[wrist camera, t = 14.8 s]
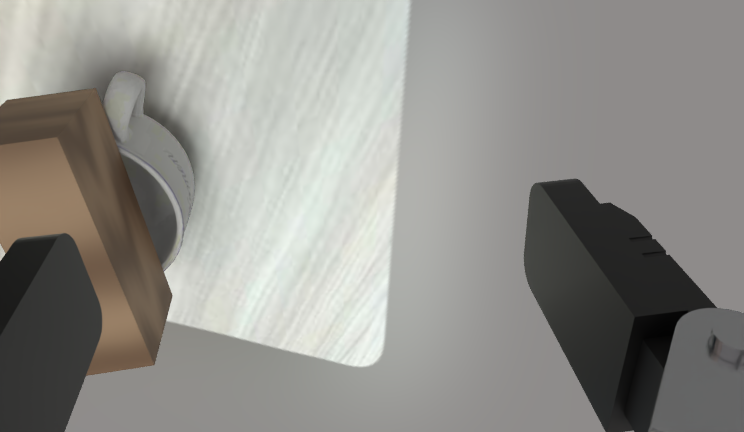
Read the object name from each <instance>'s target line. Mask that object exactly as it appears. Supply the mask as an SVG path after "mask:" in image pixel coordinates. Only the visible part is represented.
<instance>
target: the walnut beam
mask: <svg viewBox="0 0 744 432" xmlns="http://www.w3.org/2000/svg"><path fill="white" fill-rule="evenodd" d="M61 233H67V234H69V235H70V236H71V237H72V238H73V239H74V241H75V243H76V245H77V247H78V250H79V252H80V255H81V257H82V260H83V262H84V265H85V267H86V270H87V272H88V275H89V277H90V280H91V282H92V285H93V287H94V290H95V292H96V295H97V297H98V300H99V303H100V306H101V311H102V332H101V337H100V340H99V343H98V345H97V348H96V350H95V353H94V356H93V358H92V361H91V364H90V366H89V369H88V371H87V374H86V376H87V375H94V374H100V373H107V372H113V371H119V370H126V369H133V368H139V367H145V366H152V365H154V364H155V361H156V357H157V352H158V349H159V345H160V342H161V338H162V334H163V330H164V326H165V322H166V319H167V315H168V311H169V307H170V303H171V299H172V293H171V290H170V288H169V285H168V282H167V280H166V277H165V274H164V271H163V269H162V266H161V263H160V261H159V258H158V255H157V252H156V250H155V247H154V244H153V242H152V239H151V236H150V234H149V231H148V228H147V225H146V223H145V220H144V217H143V215H142V212H141V209H140V206H139V204H138V201H137V198H136V196H135V193H134V190H133V187H132V185H131V182H130V179H129V177H128V174H127V171H126V168H125V166H124V163H123V160H122V158H121V155H120V152H119V149H118V147H117V144H116V141H115V139H114V136H113V133H112V130H111V128H110V125H109V122H108V120H107V117H106V114H105V111H104V109H103V106H102V103H101V101H100V98H99V95H98V92H97V90H96V88H93V89H85V90H78V91H70V92H63V93H56V94H48V95H41V96H34V97H26V98H19V99H12V100H7V101H6V102H5V103H3V104H2V105H1V106H0V244H1V246H2V247H3V249H4V251H5V253H7V251H8V250H9V248H10V247H11V245H12V244H13V243H14V241H15V240H17V239H19V238H24V237H33V236H42V235H52V234H61Z"/></svg>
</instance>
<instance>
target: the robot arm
mask: <svg viewBox="0 0 744 432" xmlns="http://www.w3.org/2000/svg"><path fill="white" fill-rule="evenodd" d="M525 239H526V240H525V249H524V266H525V273H526V277H527V281H528V284H529V286H530V289H531V291H532V293H533V294H534V296H535V298H536V300H537V302H538V304H539V306H540V308H541V310H542V311H543V314H544V315H545V317H546V319H547V321H548V323H549V325H550V327H551V329H552V331H553V332H554V334H555V336H556V338H557V340H558V342H559V344H560V346H561V348H562V350H563V352H564V353H565V355H566V357H567V359H568V361H569V363H570V365H571V367H572V369H573V371H574V372H575V374H576V376H577V378H578V380H579V382H580V384H581V386H582V388H583V390H584V391H585V393H586V395H587V397H588V399H589V401H590V403H591V405H592V407H593V409H594V411H595V412H596V414H597V416H598V418H599V420H600V422H601V424H602V426H603V427H604V429H605V431H606V432H625V431H632V430H634V432H744V313H741V312H738V311H734V310H729V309H721V308H717V307H716V306H715V305H714V304H713V303H712V302H711V301H710V300H709V298H708V297H707V296H706V295H705V294H704V293H703V292H702V291H701V289H700V288H699V287H698V286H697V285H696V284H695V283H694V282H693V281H692V279H691V278H689V276H688V275H687V274H686V273H685V272H684V271H683V269H682V268H681V267H680V266H679V265H678V264H677V263H676V262H675V261H674V260H673V258H672V257H671V256H670V255H666V251H665V250H664V248H663V247H662V246H661V245H660V244H659V243H658V242H657V241H656V239H652V235H651V234H650V233H649V232H648V231H647V229H646V228H645V227H644V226H643V225H642V224H641V223H640V222H639V221H638V219H636V218H635V217H634V216H632V215H631V214H629V213H627V212H625V211H624V210H622V209H620V208H618V207H617V206H615V205H613V204H611V203H603V204H600V203H599V202H598V201H597V200H596V199H595V197H594V196H593V195H592V194H591V193H590V192H589V190H588V189H587V188H586V187H585V186H584V184H583V183H582V182H581V181H580V180H578V179H568V180H559V181H550V182H541V183H535V184H534V185H533V186H532V188H531V192H530V197H529V209H528V218H527V229H526V238H525ZM101 332H102V311H101V306H100V303H99V300H98V297H97V295H96V292H95V290H94V287H93V285H92V282H91V280H90V277H89V275H88V272H87V270H86V267H85V265H84V262H83V260H82V257H81V255H80V252H79V250H78V247H77V245H76V243H75V241H74V239H73V238H72V237H71V236H70V235H69V234H67V233H61V234H52V235H42V236H33V237H24V238H19V239H17V240H15V241H14V243H13V244H12V245H11V247H10V248H9V250H8V251H7V253H6V254H5V256H4V257H3V258H2V260H1V261H0V432H64V431H65V429H66V426H67V424H68V421H69V418H70V416H71V413H72V411H73V408H74V405H75V403H76V400H77V397H78V395H79V392H80V390H81V387H82V384H83V382H84V379H85V377H86V374H87V371H88V369H89V366H90V364H91V361H92V358H93V356H94V353H95V350H96V348H97V345H98V343H99V340H100V337H101Z"/></svg>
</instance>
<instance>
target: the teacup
mask: <svg viewBox="0 0 744 432" xmlns="http://www.w3.org/2000/svg"><path fill="white" fill-rule="evenodd" d="M145 90H146V83H145V80H144V79H143V78H142V77H141V76H139V75H137V74H134V73H130V72H127V71H120V72H118V73H117V74H115V75H114V77H113V78H112V80H111V82H110V84H109V86H108V89H107V91H106V94H105V97H104V100H103V103H102V106H103V109H104V111H105V114H106V117H107V120H108V122H109V125H110V128H111V130H112V133H113V136H114V139H115V141H116V144H117V147H118V149H119V152H120V155H121V158H122V160H123V163H124V166H125V168H126V171H127V174H128V177H129V179H130V182H131V185H132V187H133V190H134V193H135V196H136V198H137V201H138V204H139V206H140V209H141V212H142V215H143V217H144V220H145V223H146V225H147V228H148V231H149V234H150V236H151V239H152V242H153V244H154V247H155V250H156V252H157V255H158V258H159V261H160V263H161V266H162V269H163V271H165V270H166V269H167V268H168V267H169V266H170V265H171V263H172V262H173V261H174V260H175V258H176V256H177V254H178V252H179V250H180V248H181V245H182V241H183V235H184V231H185V228H186V225H187V222H188V219H189V216H190V212H191V209H192V204H193V199H194V191H195V184H194V175H193V170H192V167H191V164H190V161H189V159H188V156H187V154H186V152H185V151H184V149H183V148H182V146H181V144H180V143H179V142H178V140H177V139H176V138H175V137H174V136H173V135H172V134H171V133H170V132H169V131H168V130H167V129H166V128H165V127H164V126H162V125H161V124H160V123H158V122H157V121H155V120H154V119H152V118H150V117H149V116H147V115H144V114H143V104H144V98H145Z"/></svg>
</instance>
